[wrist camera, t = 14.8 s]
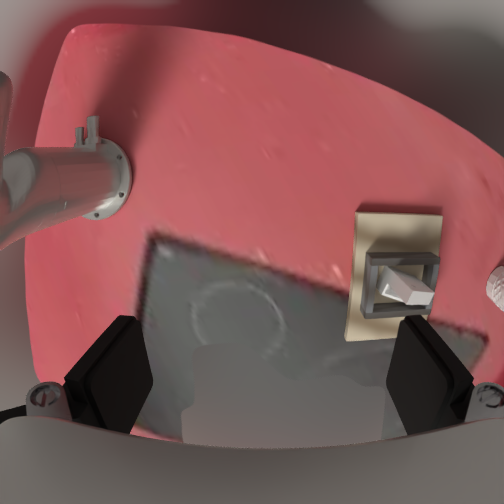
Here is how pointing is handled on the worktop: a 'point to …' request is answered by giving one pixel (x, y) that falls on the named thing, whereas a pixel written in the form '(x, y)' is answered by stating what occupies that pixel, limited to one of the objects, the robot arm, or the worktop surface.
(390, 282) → the white wedge bracket
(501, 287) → the white cup
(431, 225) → the board
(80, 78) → the worktop surface
